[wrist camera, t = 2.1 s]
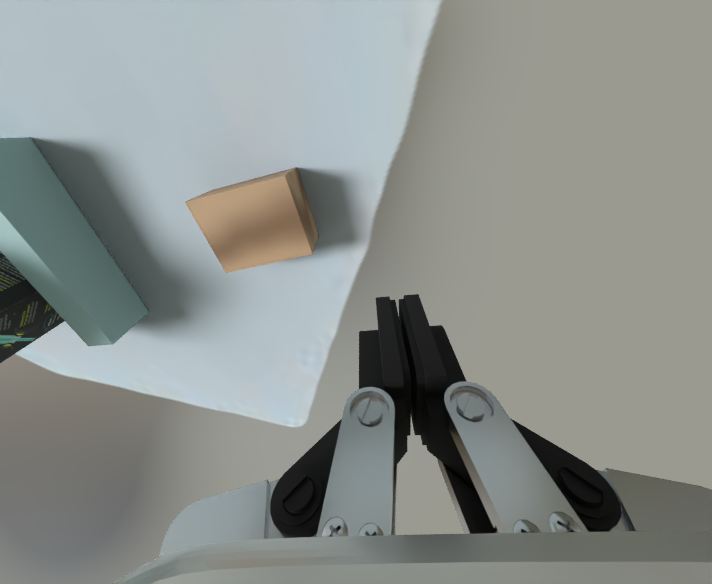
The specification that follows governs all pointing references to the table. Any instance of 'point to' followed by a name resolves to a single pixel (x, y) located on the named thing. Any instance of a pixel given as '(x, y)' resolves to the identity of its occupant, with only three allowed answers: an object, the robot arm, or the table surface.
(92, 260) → the board
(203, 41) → the table surface
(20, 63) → the table surface
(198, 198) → the block
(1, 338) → the tampon box
